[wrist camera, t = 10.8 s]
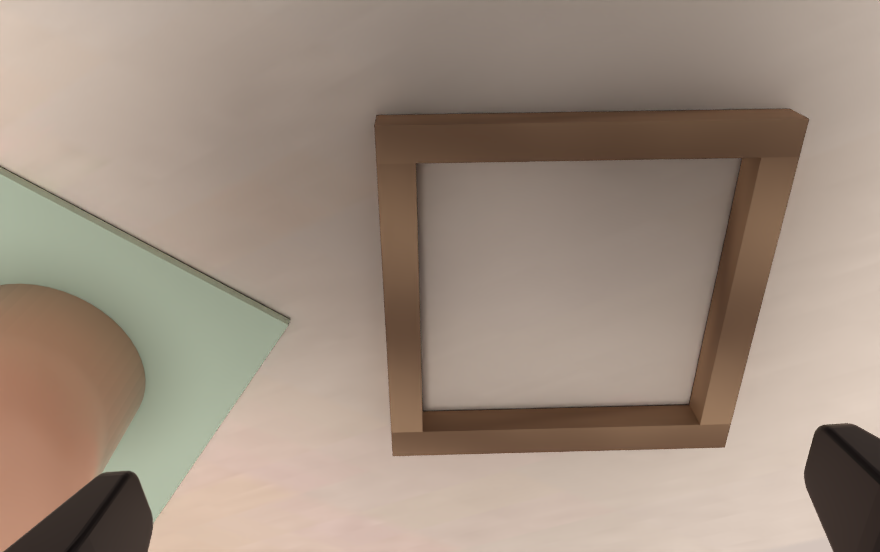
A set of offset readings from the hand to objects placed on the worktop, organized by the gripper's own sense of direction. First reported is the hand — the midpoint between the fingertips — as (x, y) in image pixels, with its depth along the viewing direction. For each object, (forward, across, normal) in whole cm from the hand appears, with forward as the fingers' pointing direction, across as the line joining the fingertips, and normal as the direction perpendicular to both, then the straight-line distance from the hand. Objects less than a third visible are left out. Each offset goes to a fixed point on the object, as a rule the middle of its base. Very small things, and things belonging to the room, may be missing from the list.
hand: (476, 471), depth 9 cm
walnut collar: (+11, -4, +4) cm, 12 cm away
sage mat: (+11, +13, +5) cm, 18 cm away
